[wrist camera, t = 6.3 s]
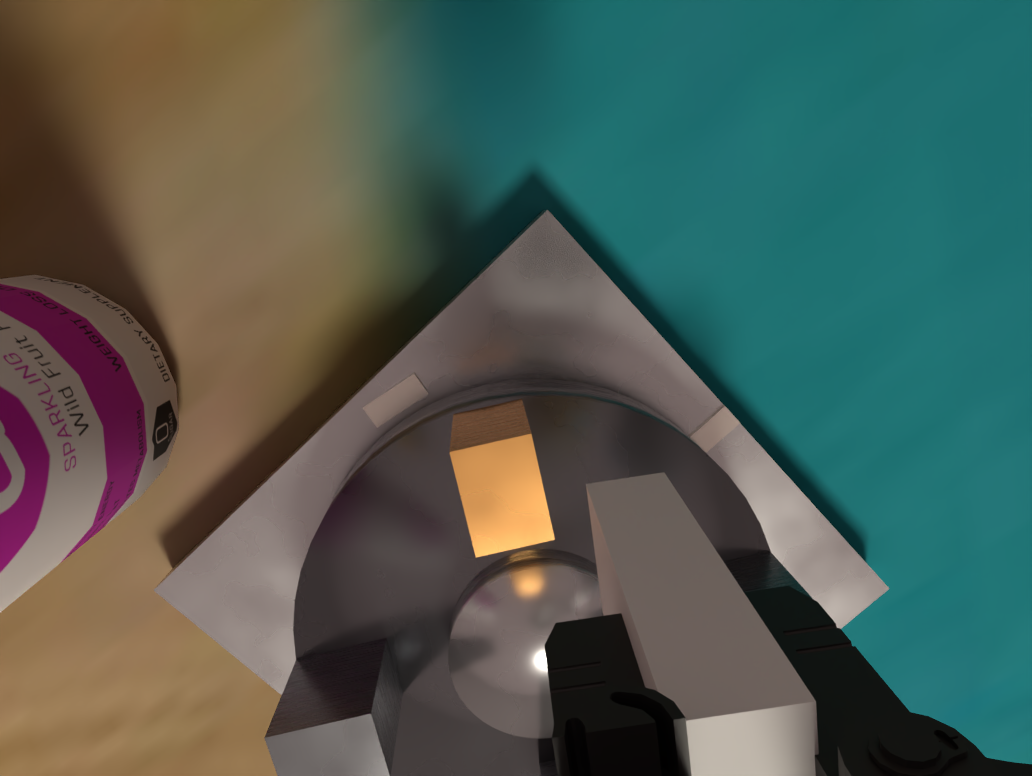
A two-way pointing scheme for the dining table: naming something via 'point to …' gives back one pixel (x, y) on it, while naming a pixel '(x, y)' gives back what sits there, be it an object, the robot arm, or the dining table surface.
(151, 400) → the supplement can
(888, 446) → the dining table surface
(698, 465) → the domed lug disc
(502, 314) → the flange
